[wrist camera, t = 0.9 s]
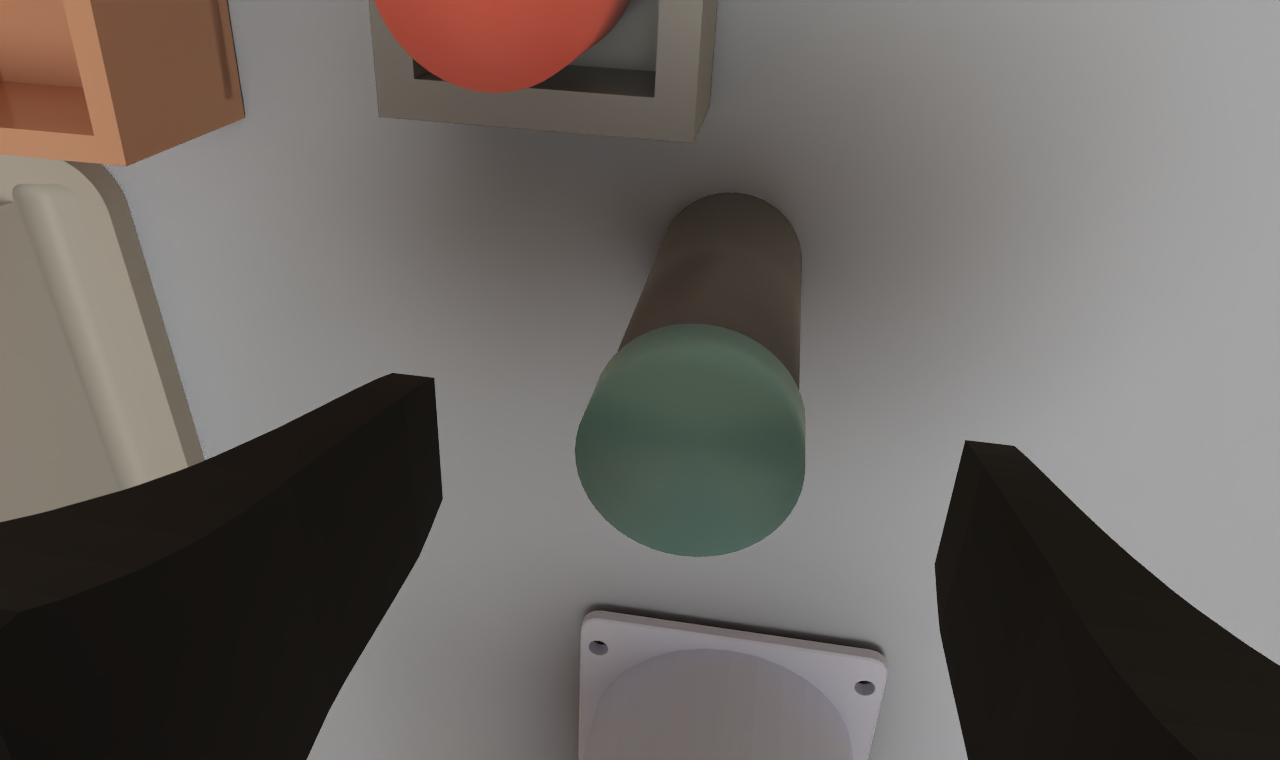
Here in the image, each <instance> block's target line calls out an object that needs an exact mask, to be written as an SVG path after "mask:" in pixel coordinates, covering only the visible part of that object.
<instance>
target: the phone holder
mask: <svg viewBox="0 0 1280 760" xmlns="http://www.w3.org/2000/svg"><path fill="white" fill-rule="evenodd" d="M203 461H205V460H204V456H203V453H202V450H201V446H200V443H199V440H198V436H197V433H196V430H195V426H194V423H193V419H192V416H191V413H190V409H189V406H188V403H187V399H186V396H185V393H184V389H183V386H182V383H181V379H180V376H179V373H178V369H177V366H176V363H175V359H174V356H173V353H172V349H171V346H170V343H169V339H168V336H167V333H166V329H165V326H164V322H163V319H162V316H161V312H160V309H159V306H158V302H157V299H156V296H155V292H154V289H153V286H152V282H151V279H150V276H149V272H148V269H147V266H146V262H145V259H144V256H143V252H142V249H141V246H140V242H139V239H138V236H137V232H136V229H135V226H134V222H133V219H132V215H131V212H130V209H129V206H128V203H127V200H126V198H125V196H124V193H123V191H122V190H121V188H120V186H119V185H118V183H117V182H116V180H115V179H114V178H113V176H112V175H111V174H110V173H109V172H108V171H107V170H106V169H105V168H104V167H103V166H102V165H101V164H97V163H86V162H75V161H65V160H54V159H43V158H32V157H22V156H11V155H0V522H4V521H8V520H12V519H17V518H21V517H26V516H30V515H34V514H39V513H43V512H47V511H51V510H54V509H58V508H61V507H65V506H68V505H72V504H75V503H79V502H82V501H86V500H90V499H93V498H97V497H100V496H104V495H107V494H111V493H114V492H118V491H121V490H125V489H128V488H131V487H134V486H137V485H140V484H143V483H146V482H149V481H151V480H154V479H157V478H160V477H163V476H166V475H168V474H171V473H174V472H177V471H180V470H182V469H185V468H187V467H190V466H192V465H195V464H198V463H200V462H203Z"/></svg>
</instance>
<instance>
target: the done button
mask: <svg viewBox="0 0 1280 760" xmlns="http://www.w3.org/2000/svg"><path fill="white" fill-rule="evenodd" d="M374 1H375V4H376V6H377V9H378V11H379V13H380V15H381V17H382V19H383V20H384V22H385V24H386V26H387V27H388V29H389V30H390V32H391V33H392V35H393V36H394V38H395V39H396V40H397V42H398V43H399V44H400V45H401V46H402V48H403V49H404V50H405V51H406V52H407V53H408V54H409V55H410V56H411V57H412V58H413V59H414V60H415V61H416V62H417V63H419V64H420V65H421V66H423V67H424V68H425V69H427V70H428V71H429V72H431V73H432V74H434V75H436V76H437V77H439V78H441V79H443V80H444V81H447V82H449V83H451V84H454V85H456V86H459V87H462V88H466V89H469V90H473V91H480V92H486V93H504V92H512V91H518V90H521V89H525V88H528V87H532V86H534V85H536V84H538V83H541V82H543V81H545V80H546V79H548V78H550V77H551V76H553V75H554V74H556V73H557V72H559V71H560V70H561V69H563V68H564V67H566V66H567V65H568V64H570V63H571V62H572V61H574V60H575V59H576V58H578V57H579V56H580V55H582V54H583V53H584V52H586V51H587V50H588V49H590V48H591V47H593V46H594V45H595V44H597V43H598V42H599V41H600V40H601V39H603V38H604V37H605V36H606V35H607V34H608V33H609V32H610V31H611V30H612V29H613V28H614V27H615V25H616V24H617V23H618V21H619V20H620V18H621V17H622V15H623V14H624V12H625V10H626V8H627V6H628V4H629V2H630V1H631V0H374Z"/></svg>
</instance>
